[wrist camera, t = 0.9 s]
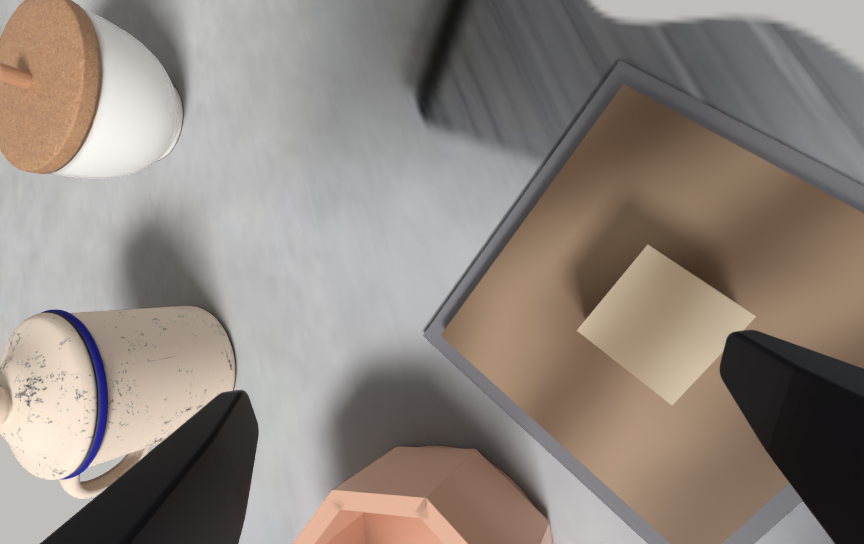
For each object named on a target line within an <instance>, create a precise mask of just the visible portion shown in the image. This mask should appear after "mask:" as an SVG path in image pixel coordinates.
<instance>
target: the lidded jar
mask: <svg viewBox="0 0 864 544" xmlns="http://www.w3.org/2000/svg"><path fill="white" fill-rule="evenodd" d="M182 123H183V106H182V101H181V98H180V95H179V93H178V91H177V89H176V88H175V87H174V86H173V85H172V82H171V80H170V78H169V76H168V74H167V72H166V70H165V69H164V67H163V66H162V64H161V63H160V62H159V60H158V59H157V58H156V57H155V55H153V54H152V53H151V52H150V51H149V50H148V49H147V48H146V47H145V46H144V45H143V44H142V43H141V42H140V41H138V40H137V39H136V38H134V37H133V36H132V35H130V34H129V33H127V32H126V31H124V30H122V29H121V28H119V27H118V26H116V25H114V24H113V23H111V22H109V21H108V20H106V19H104V18H102V17H100V16H98V15H96V14H94V13H92V12H90V11H88V10H86V9H84V8H81V7H80V6H79V5H78V4H76V3H74V2H73V1H71V0H25V1H24V2H23V3H22V4H21V5H20V6H19V7H18V8H17V9H16V11H15V12H14V13H13V15H12V16H11V18H10V20H9V21H8V23H7V25H6V26H5V29H4V31H3V33H2V36H1V38H0V150H1V152H2V153H3V155H4V156H5V158H6V159H7V160H8V161H9V162H10V163H11V164H12V165H13V166H15V167H16V168H18V169H20V170H23V171H27V172H32V173H38V174H56V175H61V176H68V177H76V178H90V179H101V178H118V177H123V176H127V175H131V174H134V173H136V172H139V171H141V170H143V169H145V168H147V167H148V166H150V165H152V164H153V163H154V162H155V161H159V160H161V159H163V158H165V157H166V156H167V155H168V154H169V153H170V152H171V151H172V149H173V148H174V146H175V145H176V143H177V141H178V138H179V136H180V133H181V129H182Z"/></svg>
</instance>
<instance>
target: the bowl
mask: <svg viewBox="0 0 864 544" xmlns="http://www.w3.org/2000/svg"><path fill="white" fill-rule="evenodd" d="M293 544H552V538H551V531H550V522H549V521H548V520H547V519H546V518H545V517H544V516H543V515H542V514H541V513H540V512H539V511H538V510H537V509H536V508H535V506H534V505H533V504H532V502H531V501H530V500H529V498H528V497H527V495H526V494H525V493H524V492H523V491H522V489H521V488H520V487H519V486H518V485H517V484H516V483H515V482H514V481H513V480H512V479H511V478H510V477H509V476H508V475H506V474H505V473H504V472H503V471H502V470H501V469H499V468H498V467H496V466H495V465H493V464H492V463H491V462H489V461H487V460H486V459H485V458H484V457H483V456H482V455H481V454H480V453H479V452H478V451H477V450H476V449H459V448H455V447H451V446H441V445H431V446H422V447H398V446H397V447H395V448H394V449H392V450H391V451H389V452H388V453H386V454H385V455H383V456H382V457H380V458H379V459H377V460H376V461H374V462H373V463H371V464H370V465H368V466H367V467H365V468H364V469H362V470H361V471H359V472H358V473H356V474H355V475H353V476H352V477H350V478H349V479H347V480H346V481H344V482H343V483H341V484H340V485H338V486H337V487H335V488H334V489H332V491H331V492H330V494H329V495H328V496H327V498H326V499H325V500H324V502H323V503H322V505H321V506H320V507H319V509H318V510H317V511H316V513H315V514H314V515H313V517H312V518H311V520H310V521H309V522H308V524H307V525H306V526H305V528H304V529H303V531H302V532H301V533H300V535H299V536H298V537H297V539H296V540H295V541H294V543H293Z"/></svg>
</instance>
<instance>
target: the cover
mask: <svg viewBox="0 0 864 544" xmlns="http://www.w3.org/2000/svg"><path fill="white" fill-rule="evenodd" d="M744 330H756V331H759V332H762V333H765V334H768V335H771V336H774V337H776V338H779V339H782V340H785V341H788V342H791V343H793V344H796V345H799V346H802V347H805V348H808V349H810V350H813V351H816V352H819V353H822V354H824V355H827V356H830V357H833V358H836V359H839V360H841V361H844V362H847V363H850V364H853V365H856V366H858V367H861V368H864V213H862V212H861V211H859V210H857V209H855V208H853V207H851V206H849V205H847V204H846V203H844V202H842V201H840V200H838V199H836V198H834V197H833V196H831V195H829V194H827V193H825V192H823V191H821V190H820V189H818V188H816V187H814V186H812V185H810V184H808V183H807V182H805V181H803V180H801V179H799V178H797V177H795V176H794V175H792V174H790V173H788V172H786V171H784V170H782V169H780V168H779V167H777V166H775V165H773V164H771V163H769V162H767V161H766V160H764V159H762V158H760V157H758V156H756V155H754V154H753V153H751V152H749V151H747V150H745V149H743V148H741V147H740V146H738V145H736V144H734V143H732V142H730V141H728V140H727V139H725V138H723V137H721V136H719V135H717V134H715V133H714V132H712V131H710V130H708V129H706V128H704V127H702V126H700V125H699V124H697V123H695V122H693V121H691V120H689V119H687V118H686V117H684V116H682V115H680V114H678V113H676V112H674V111H673V110H671V109H669V108H667V107H665V106H663V105H661V104H660V103H658V102H656V101H654V100H652V99H650V98H648V97H647V96H645V95H643V94H641V93H639V92H637V91H635V90H634V89H632V88H630V87H628V86H626V85H624V84H623V86H622V87H621V88H620V90H619V91H618V92H617V94H616V95H615V97H614V98H613V99H612V101H611V102H610V103H609V105H608V106H607V107H606V109H605V110H604V112H603V113H602V114H601V116H600V117H599V118H598V120H597V121H596V123H595V124H594V125H593V127H592V128H591V129H590V131H589V132H588V134H587V135H586V136H585V138H584V139H583V140H582V142H581V143H580V145H579V146H578V147H577V149H576V150H575V151H574V153H573V154H572V156H571V157H570V158H569V160H568V161H567V162H566V164H565V165H564V167H563V168H562V169H561V171H560V172H559V173H558V175H557V176H556V178H555V179H554V180H553V182H552V183H551V184H550V186H549V187H548V189H547V190H546V191H545V193H544V194H543V195H542V197H541V198H540V200H539V201H538V202H537V204H536V205H535V206H534V208H533V209H532V211H531V212H530V213H529V215H528V216H527V217H526V219H525V220H524V222H523V223H522V224H521V226H520V227H519V228H518V230H517V231H516V232H515V234H514V235H513V237H512V238H511V239H510V241H509V242H508V243H507V245H506V246H505V248H504V249H503V250H502V252H501V253H500V254H499V256H498V257H497V259H496V260H495V261H494V263H493V264H492V265H491V267H490V268H489V270H488V271H487V272H486V274H485V275H484V276H483V278H482V279H481V281H480V282H479V283H478V285H477V286H476V287H475V289H474V290H473V292H472V293H471V294H470V296H469V297H468V298H467V300H466V301H465V303H464V304H463V305H462V307H461V308H460V309H459V311H458V312H457V314H456V315H455V316H454V318H453V319H452V320H451V322H450V323H449V325H448V326H447V327H446V329H445V330H444V331H443V333H442V334H441V336H442V337H443V338H444V339H445V340H446V341H447V342H448V343H449V344H451V345H452V346H453V347H454V348H455V349H456V350H457V351H458V352H459V353H460V354H462V355H463V356H464V357H465V358H466V359H467V360H468V361H469V362H470V363H471V364H473V365H474V366H475V367H476V368H477V369H478V370H479V371H480V372H481V373H483V374H484V375H485V376H486V377H487V378H488V379H489V380H490V381H491V382H492V383H494V384H495V385H496V386H497V387H498V388H499V389H500V390H501V391H502V392H504V393H505V394H506V395H507V396H508V397H509V398H510V399H511V400H512V401H513V402H515V403H516V404H517V405H518V406H519V407H520V408H521V409H522V410H523V411H525V412H526V413H527V414H528V415H529V416H530V417H531V418H532V419H533V420H534V421H536V422H537V423H538V424H539V425H540V426H541V427H542V428H543V429H544V430H546V431H547V432H548V433H549V434H550V435H551V436H552V437H553V438H554V439H555V440H557V441H558V442H559V443H560V444H561V445H562V446H563V447H564V448H565V449H567V450H568V451H569V452H570V453H571V454H572V455H573V456H574V457H575V458H576V459H578V460H579V461H580V462H581V463H582V464H583V465H584V466H585V467H586V468H587V469H589V470H590V471H591V472H592V473H593V474H594V475H595V476H596V477H597V478H599V479H600V480H601V481H602V482H603V483H604V484H605V485H606V486H607V487H608V488H610V489H611V490H612V491H613V492H614V493H615V494H616V495H617V496H618V497H620V498H621V499H622V500H623V501H624V502H625V503H626V504H627V505H628V506H629V507H631V508H632V509H633V510H634V511H635V512H636V513H637V514H638V515H639V516H641V517H642V518H643V519H644V520H645V521H646V522H647V523H648V524H649V525H650V526H652V527H653V528H654V529H655V530H656V531H657V532H658V533H659V534H660V535H662V536H663V537H664V538H665V539H666V540H667V541H668V542H669V543H670V544H722V543H723V542H724V541H725V540H727V539H728V538H729V537H730V536H731V535H732V534H733V533H734V532H735V531H736V530H738V529H739V528H740V527H741V526H742V525H743V524H744V523H745V522H746V521H748V520H749V519H750V518H751V517H752V516H753V515H754V514H755V513H756V512H757V511H759V510H760V509H761V508H762V507H763V506H764V505H765V504H766V503H767V502H768V501H770V500H771V499H772V498H773V497H774V496H775V495H776V494H777V493H778V492H779V491H781V490H782V489H783V488H784V487H785V486H786V485H787V484H788V483H789V482H788V480H787V479H786V478H785V476H784V475H783V474H782V472H781V471H780V470H779V468H778V467H777V466H776V464H775V463H774V462H773V460H772V459H771V457H770V456H769V455H768V453H767V452H766V450H765V449H764V447H763V446H762V444H761V443H760V441H759V440H758V438H757V436H756V435H755V433H754V431H753V430H752V428H751V426H750V425H749V423H748V422H747V420H746V418H745V417H744V415H743V413H742V412H741V410H740V408H739V407H738V405H737V403H736V402H735V400H734V399H733V397H732V395H731V394H730V392H729V390H728V389H727V387H726V385H725V384H724V382H723V380H722V378H721V376H720V370H719V367H720V362H721V358H722V354H723V350H724V346H725V342H726V339H727V336H728V335H729V334H730V333H732V332H735V331H744Z"/></svg>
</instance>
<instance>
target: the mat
mask: <svg viewBox="0 0 864 544" xmlns="http://www.w3.org/2000/svg"><path fill="white" fill-rule="evenodd" d="M623 84H624V85H626V86H628V87H630V88H632V89H634V90H635V91H637V92H639V93H641V94H643V95H645V96H647V97H648V98H650V99H652V100H654V101H656V102H658V103H660V104H661V105H663V106H665V107H667V108H669V109H671V110H673V111H674V112H676V113H678V114H680V115H682V116H684V117H686V118H687V119H689V120H691V121H693V122H695V123H697V124H699V125H700V126H702V127H704V128H706V129H708V130H710V131H712V132H714V133H715V134H717V135H719V136H721V137H723V138H725V139H727V140H728V141H730V142H732V143H734V144H736V145H738V146H740V147H741V148H743V149H745V150H747V151H749V152H751V153H753V154H754V155H756V156H758V157H760V158H762V159H764V160H766V161H767V162H769V163H771V164H773V165H775V166H777V167H779V168H780V169H782V170H784V171H786V172H788V173H790V174H792V175H794V176H795V177H797V178H799V179H801V180H803V181H805V182H807V183H808V184H810V185H812V186H814V187H816V188H818V189H820V190H821V191H823V192H825V193H827V194H829V195H831V196H833V197H834V198H836V199H838V200H840V201H842V202H844V203H846V204H847V205H849V206H851V207H853V208H855V209H857V210H859V211H861V212H862V213H864V186H862V185H860V184H858V183H856V182H854V181H852V180H850V179H849V178H847V177H845V176H843V175H841V174H839V173H837V172H835V171H833V170H831V169H829V168H827V167H825V166H823V165H821V164H820V163H818V162H816V161H814V160H812V159H810V158H808V157H806V156H804V155H802V154H800V153H798V152H796V151H794V150H793V149H791V148H789V147H787V146H785V145H783V144H781V143H779V142H777V141H775V140H773V139H771V138H769V137H767V136H765V135H764V134H762V133H760V132H758V131H756V130H754V129H752V128H750V127H748V126H746V125H744V124H742V123H740V122H738V121H737V120H735V119H733V118H731V117H729V116H727V115H725V114H723V113H721V112H719V111H717V110H715V109H713V108H711V107H709V106H708V105H706V104H704V103H702V102H700V101H698V100H696V99H694V98H692V97H690V96H688V95H686V94H684V93H682V92H681V91H679V90H677V89H675V88H673V87H671V86H669V85H667V84H665V83H663V82H661V81H659V80H657V79H655V78H654V77H652V76H650V75H648V74H646V73H644V72H642V71H640V70H638V69H636V68H634V67H632V66H630V65H628V64H626V63H625V62H623V61H621V60H620V61H619V62H618V63H617V65H616V66H615V68H614V69H613V70H612V72H611V73H610V75H609V76H608V77H607V79H606V80H605V82H604V83H603V84H602V86H601V87H600V89H599V90H598V91H597V93H596V94H595V96H594V97H593V98H592V100H591V101H590V103H589V104H588V105H587V107H586V108H585V110H584V111H583V112H582V114H581V115H580V117H579V118H578V119H577V121H576V122H575V124H574V125H573V126H572V128H571V129H570V131H569V132H568V133H567V135H566V136H565V138H564V139H563V140H562V142H561V143H560V144H559V146H558V147H557V149H556V150H555V151H554V153H553V154H552V156H551V157H550V158H549V160H548V161H547V163H546V164H545V165H544V167H543V168H542V170H541V171H540V172H539V174H538V175H537V177H536V178H535V179H534V181H533V182H532V184H531V185H530V186H529V188H528V189H527V191H526V192H525V193H524V195H523V196H522V198H521V199H520V200H519V202H518V203H517V205H516V206H515V207H514V209H513V210H512V212H511V213H510V214H509V216H508V217H507V219H506V220H505V221H504V223H503V224H502V226H501V227H500V228H499V230H498V231H497V233H496V234H495V235H494V237H493V238H492V240H491V241H490V242H489V244H488V245H487V247H486V248H485V249H484V251H483V252H482V254H481V255H480V256H479V258H478V259H477V261H476V262H475V263H474V265H473V266H472V268H471V269H470V270H469V272H468V273H467V275H466V276H465V277H464V279H463V280H462V282H461V283H460V284H459V286H458V287H457V289H456V290H455V291H454V293H453V294H452V296H451V297H450V298H449V300H448V301H447V303H446V304H445V305H444V307H443V308H442V310H441V311H440V312H439V314H438V315H437V317H436V318H435V319H434V321H433V322H432V323H431V325H430V326H429V328H428V329H427V330H426V332H425V333H424V335H423V336H424V337H425V338H426V339H427V340H428V341H429V342H430V343H431V344H432V345H433V346H434V347H436V348H437V349H438V350H439V351H440V352H441V353H442V354H443V355H444V356H445V357H446V358H447V359H449V360H450V361H451V362H452V363H453V364H454V365H455V366H456V367H457V368H458V369H459V370H460V371H462V372H463V373H464V374H465V375H466V376H467V377H468V378H469V379H470V380H471V381H472V382H473V383H475V384H476V385H477V386H478V387H479V388H480V389H481V390H482V391H483V392H484V393H485V394H486V395H488V396H489V397H490V398H491V399H492V400H493V401H494V402H495V403H496V404H497V405H498V406H499V407H501V408H502V409H503V410H504V411H505V412H506V413H507V414H508V415H509V416H510V417H511V418H512V419H514V420H515V421H516V422H517V423H518V424H519V425H520V426H521V427H522V428H523V429H524V430H525V431H527V432H528V433H529V434H530V435H531V436H532V437H533V438H534V439H535V440H536V441H537V442H538V443H540V444H541V445H542V446H543V447H544V448H545V449H546V450H547V451H548V452H549V453H550V454H551V455H553V456H554V457H555V458H556V459H557V460H558V461H559V462H560V463H561V464H562V465H563V466H564V467H566V468H567V469H568V470H569V471H570V472H571V473H572V474H573V475H574V476H575V477H576V478H577V479H579V480H580V481H581V482H582V483H583V484H584V485H585V486H586V487H587V488H588V489H589V490H590V491H592V492H593V493H594V494H595V495H596V496H597V497H598V498H599V499H600V500H601V501H602V502H603V503H605V504H606V505H607V506H608V507H609V508H610V509H611V510H612V511H613V512H614V513H615V514H616V515H618V516H619V517H620V518H621V519H622V520H623V521H624V522H625V523H626V524H627V525H628V526H629V527H631V528H632V529H633V530H634V531H635V532H636V533H637V534H638V535H639V536H640V537H641V538H642V539H644V540H645V541H646V542H647V543H648V544H670V543H669V542H668V541H667V540H666V539H665V538H664V537H663V536H662V535H660V534H659V533H658V532H657V531H656V530H655V529H654V528H653V527H652V526H650V525H649V524H648V523H647V522H646V521H645V520H644V519H643V518H642V517H641V516H639V515H638V514H637V513H636V512H635V511H634V510H633V509H632V508H631V507H629V506H628V505H627V504H626V503H625V502H624V501H623V500H622V499H621V498H620V497H618V496H617V495H616V494H615V493H614V492H613V491H612V490H611V489H610V488H608V487H607V486H606V485H605V484H604V483H603V482H602V481H601V480H600V479H599V478H597V477H596V476H595V475H594V474H593V473H592V472H591V471H590V470H589V469H587V468H586V467H585V466H584V465H583V464H582V463H581V462H580V461H579V460H578V459H576V458H575V457H574V456H573V455H572V454H571V453H570V452H569V451H568V450H567V449H565V448H564V447H563V446H562V445H561V444H560V443H559V442H558V441H557V440H555V439H554V438H553V437H552V436H551V435H550V434H549V433H548V432H547V431H546V430H544V429H543V428H542V427H541V426H540V425H539V424H538V423H537V422H536V421H534V420H533V419H532V418H531V417H530V416H529V415H528V414H527V413H526V412H525V411H523V410H522V409H521V408H520V407H519V406H518V405H517V404H516V403H515V402H513V401H512V400H511V399H510V398H509V397H508V396H507V395H506V394H505V393H504V392H502V391H501V390H500V389H499V388H498V387H497V386H496V385H495V384H494V383H492V382H491V381H490V380H489V379H488V378H487V377H486V376H485V375H484V374H483V373H481V372H480V371H479V370H478V369H477V368H476V367H475V366H474V365H473V364H471V363H470V362H469V361H468V360H467V359H466V358H465V357H464V356H463V355H462V354H460V353H459V352H458V351H457V350H456V349H455V348H454V347H453V346H452V345H451V344H449V343H448V342H447V341H446V340H445V339H444V338H443V337H442V336H441V334H442V333H443V331H444V330H445V329H446V327H447V326H448V325H449V323H450V322H451V320H452V319H453V318H454V316H455V315H456V314H457V312H458V311H459V309H460V308H461V307H462V305H463V304H464V303H465V301H466V300H467V298H468V297H469V296H470V294H471V293H472V292H473V290H474V289H475V287H476V286H477V285H478V283H479V282H480V281H481V279H482V278H483V276H484V275H485V274H486V272H487V271H488V270H489V268H490V267H491V265H492V264H493V263H494V261H495V260H496V259H497V257H498V256H499V254H500V253H501V252H502V250H503V249H504V248H505V246H506V245H507V243H508V242H509V241H510V239H511V238H512V237H513V235H514V234H515V232H516V231H517V230H518V228H519V227H520V226H521V224H522V223H523V222H524V220H525V219H526V217H527V216H528V215H529V213H530V212H531V211H532V209H533V208H534V206H535V205H536V204H537V202H538V201H539V200H540V198H541V197H542V195H543V194H544V193H545V191H546V190H547V189H548V187H549V186H550V184H551V183H552V182H553V180H554V179H555V178H556V176H557V175H558V173H559V172H560V171H561V169H562V168H563V167H564V165H565V164H566V162H567V161H568V160H569V158H570V157H571V156H572V154H573V153H574V151H575V150H576V149H577V147H578V146H579V145H580V143H581V142H582V140H583V139H584V138H585V136H586V135H587V134H588V132H589V131H590V129H591V128H592V127H593V125H594V124H595V123H596V121H597V120H598V118H599V117H600V116H601V114H602V113H603V112H604V110H605V109H606V107H607V106H608V105H609V103H610V102H611V101H612V99H613V98H614V97H615V95H616V94H617V92H618V91H619V90H620V88H621V87H622V86H623ZM802 501H803V500H802V499H801V498H800V496H799V495H798V494H797V492H796V491H795V490H794V488H793V487H792V486H791V484H790V483H788V484H787V485H786V486H785V487H784V488H783V489H782V490H781V491H779V492H778V493H777V494H776V495H775V496H774V497H773V498H772V499H771V500H770V501H768V502H767V503H766V504H765V505H764V506H763V507H762V508H761V509H760V510H759V511H757V512H756V513H755V514H754V515H753V516H752V517H751V518H750V519H749V520H748V521H746V522H745V523H744V524H743V525H742V526H741V527H740V528H739V529H738V530H736V531H735V532H734V533H733V534H732V535H731V536H730V537H729V538H728V539H727V540H725V541H724V542H723V543H722V544H754V543H755V542H756V541H758V540H759V539H760V538H761V537H762V536H763V535H764V534H766V533H767V532H768V531H769V530H770V529H771V528H772V527H773V526H775V525H776V524H777V523H778V522H779V521H780V520H781V519H782V518H784V517H785V516H786V515H787V514H788V513H789V512H790V511H792V510H793V509H794V508H795V507H796V506H797V505H798V504H799V503H801V502H802Z"/></svg>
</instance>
